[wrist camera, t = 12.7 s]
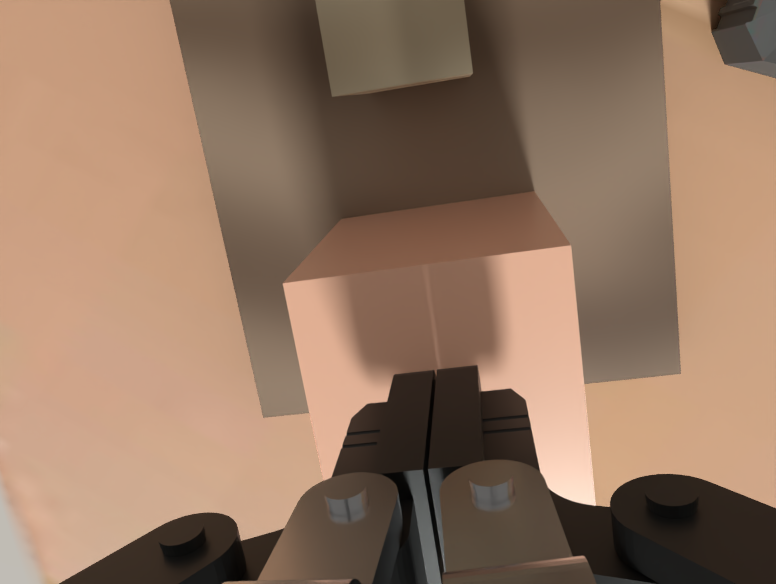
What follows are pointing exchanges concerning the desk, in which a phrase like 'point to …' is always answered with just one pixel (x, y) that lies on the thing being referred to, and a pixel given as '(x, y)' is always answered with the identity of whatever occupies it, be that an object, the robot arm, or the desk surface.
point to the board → (438, 147)
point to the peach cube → (446, 320)
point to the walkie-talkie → (748, 35)
